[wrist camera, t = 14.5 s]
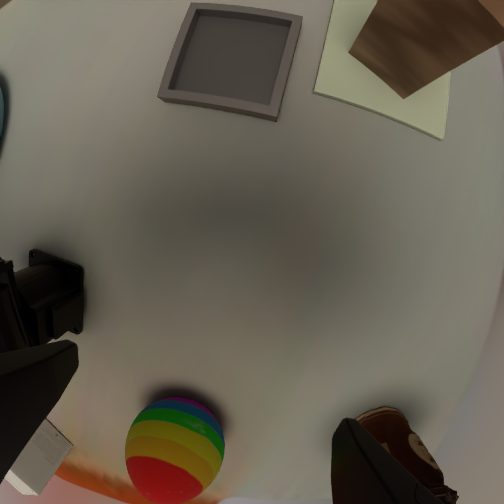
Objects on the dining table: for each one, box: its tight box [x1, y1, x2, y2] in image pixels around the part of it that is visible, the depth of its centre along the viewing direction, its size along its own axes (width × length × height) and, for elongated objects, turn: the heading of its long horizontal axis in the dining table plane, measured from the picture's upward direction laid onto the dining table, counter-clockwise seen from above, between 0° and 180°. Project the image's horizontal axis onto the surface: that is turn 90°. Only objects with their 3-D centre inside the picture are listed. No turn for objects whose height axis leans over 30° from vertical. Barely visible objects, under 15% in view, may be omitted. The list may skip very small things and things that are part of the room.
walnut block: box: [348, 0, 504, 99], centre depth 10 cm, size 5×5×12 cm
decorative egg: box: [125, 397, 225, 504], centre depth 20 cm, size 8×8×10 cm
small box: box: [4, 419, 73, 495], centre depth 23 cm, size 8×6×10 cm
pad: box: [313, 0, 451, 141], centre depth 16 cm, size 10×10×1 cm
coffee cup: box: [356, 407, 459, 504], centre depth 17 cm, size 9×8×13 cm
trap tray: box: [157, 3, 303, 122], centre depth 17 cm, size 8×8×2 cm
